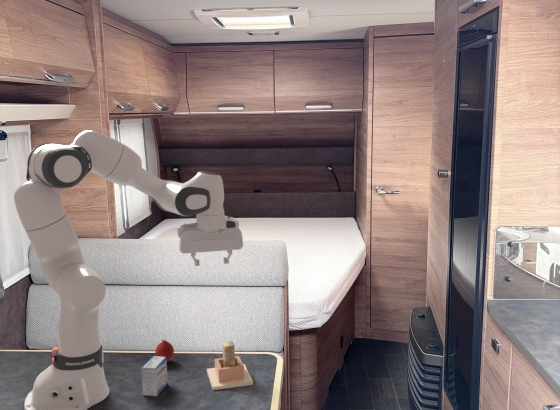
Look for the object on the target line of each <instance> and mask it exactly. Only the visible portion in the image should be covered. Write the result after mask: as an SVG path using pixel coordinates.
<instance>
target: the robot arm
mask: <svg viewBox="0 0 560 410" xmlns="http://www.w3.org/2000/svg"><path fill="white" fill-rule="evenodd" d="M26 164H27V168H26V177H25V179H26V180H27V182H25V183H22V184H21V185H20V186H19V187H18V188H17V189H16V190H15V192H14V194H13V200H14V205H15V209H16V211H17V215H18V218H19V220H20V222H21V225H22V227H23V229H24V231H25V233H26V234H27V236H28V239H29V241H30V243H31V245H32V247H33V249H34V251H35V253H36V255H37V258H38V261H39V263H40V266H41V269H42V272H43V273H44V276H45V278H46V281H47V283H48V285H49V287H50V289H51V290H52V292H53V293H54V294H55V295H57V296H58V299H59V302H60V303H59V304H60V311H59V312H60V314H59V318H58V319H59V320H58V322H57V330H56V331H57V339H58V347H57V346H55V347H53V348H52V350H51V352H50V353H51V365H49V366H48V367H47V368H45V369H44V370H42V371H41V372H40V373H39V374H38V376H37V377H36V379H35V380H34V383H33V386H32V387H33V388H32V389H31V390H30V391H29V392H28V394H27V396H25V399H24V405H23V408H24V410H88V409H89V408H91V407H92V406H94V405H97V404H98V403H100V402H103V401H104V400H105V399H106V398H107V397H108V396H109V394H110V390H111V389H110V388H109V386H108V382H107V380H106V375H105V370H104V349H103V345H102V343H101V330H100V329H101V328H100V316H101V308H102V303H103V302H104V299H105V296H106V292H107V288H106V284H105V282H104V281H103V280H104V279H102V277H101V275H100V274H99V273H98V272H96V271H95V270H94V269H93V268H91V267H90V266H89V265H88V264H87V263H86V261H85V259H84V257H83V254H82V251H81V248H80V243H79V238H78V234H77V233H76V230H75V228H74V227H73V223H72V222H71V219H70V218H69V216H68V214H67V211H66V209H65V207H64V205H63V204H62V200H61V189H62V190H64V189H70V188H73V187H75V186H77V185H78V184H79V183H80V182H82V181H83V179H84V178H85V177H86V176H87V175H88V174H89V173H92V174H94V175H96V176H97V177H100V178H102V179H104V180H106V181H108V182H110V183H113V184H116V185H119V186H123V187H127V186H129V187H132V188H134V189H137V190H138V191H140V192H142V193H143V194H145V195H147V196H149V197H150V198H151V199H152V200H153V201H154V203H155V204H156V206H157V207H158V208H160V210H162V211H164V212H169V213H174V214H175V215H180V216H182V217H192V216H196V217H195V218H196V222H194V223H193V222H192V223H182V225H179V227H178V228H177V236H178V238H179V240H178V241H179V243H178V250H179V252H180V253H182V254H190V256H191V258H192V260H193V262H194V267H200V265H201V264H200V263H201V262H200V259H197V257H196V255H197V253H210V252H222V251H223V252H224V251H226V252H227V254H226V256H225V257H223V264H225V265H226V264H230V258H231V256H232V255H233V251H235V250H236V251H237V250H242V249H243V247H244V241H243V240H244V238H243V233H242V230H241V229H240V228H239V226H240V222H239V220H238V219H237V218H235V217H232V216H228V215H225V209H224V202H225V191H224V190H225V189H224V181H223V178H222V176H221V175H220V174H219V173H217V172H211V171H203V170H201V171H198V172H197V173H196V175H194V176H193V177H192V178H191V179H189V180H188V181H186V182H179V181H176V180H172V179H161V178H160V177H158V176H157V175H155V174H153V173H151V172H149V170H148V171H147V170H146V169H144V168H143V162H142V159H141V156H140V155H139V154H138V153H137V152H135V151H134V150H133V149H132V148H130V147H129V146H127V145H126V144H124V143H122V142H120V141H119V140H116V139H115V138H113V137H111V136H109V135H105V134H103V133H100V132H98V131H95V130H92V129H91V130H84V131H82V132H80V133H79V134H78V135H77V136H76V137H75V139H74V140H73V142H72V143H71V144H70V145H63V144H59V143H41V144H40V145H37V146H36V147H34V148H33V149H32V150H31V152H30V153H29V155H28V158H27V163H26Z"/></svg>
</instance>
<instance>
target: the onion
mask: <svg viewBox="0 0 560 410" xmlns="http://www.w3.org/2000/svg"><path fill="white" fill-rule="evenodd" d="M174 355H175V349H174V346H173V345H172V343H170V342H169V341H167V340H166V339H164V338H163V339H161V342H160V343H158V344H157V346H156V348H155V356H160V357H166V362H167V363H168V362H170V361H171V359H172V358H173V357H174Z"/></svg>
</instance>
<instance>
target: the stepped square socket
mask: <svg viewBox="0 0 560 410" xmlns="http://www.w3.org/2000/svg"><path fill="white" fill-rule="evenodd" d="M206 373H207V376H208V380H209V383H210V385H211V390H212V391H218V390H224V389H233V388H239V387H247V386H253V385H254V381H253V379H252V377H251V374H250V372H249V370H248V368H247V365H246V364H245V363H243V361H242V360H241V357H240V355H235V366H233V367H225V368H223V357H220V358H214V367H211V368H206Z"/></svg>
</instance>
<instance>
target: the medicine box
mask: <svg viewBox="0 0 560 410" xmlns="http://www.w3.org/2000/svg"><path fill="white" fill-rule="evenodd" d="M167 363H168V362H166V357H160V356H156V355H154V356H152V357H150V359H149V360H148V361H147V362H146V363H145V364H143V366H142V367H141V380H142V381H141V384H142V395H143V396H148V397H158V396H159V395H160V393H161V392H162V391H163V389H164V388H166V386H167V385H168V368H167V367H168V365H167Z"/></svg>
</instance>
